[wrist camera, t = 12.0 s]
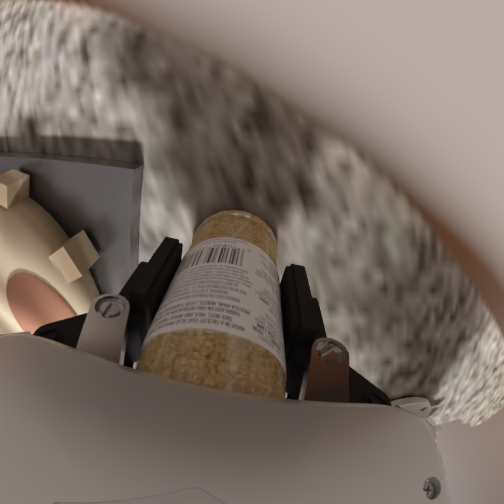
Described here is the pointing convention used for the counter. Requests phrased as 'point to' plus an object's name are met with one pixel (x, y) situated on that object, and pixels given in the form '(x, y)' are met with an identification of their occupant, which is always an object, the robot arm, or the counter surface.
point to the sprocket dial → (39, 262)
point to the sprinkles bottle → (222, 312)
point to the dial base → (89, 206)
